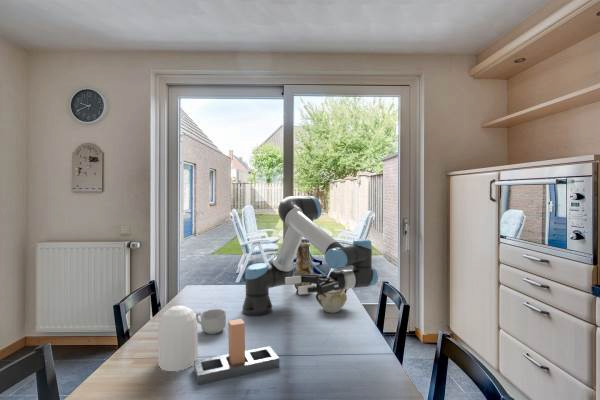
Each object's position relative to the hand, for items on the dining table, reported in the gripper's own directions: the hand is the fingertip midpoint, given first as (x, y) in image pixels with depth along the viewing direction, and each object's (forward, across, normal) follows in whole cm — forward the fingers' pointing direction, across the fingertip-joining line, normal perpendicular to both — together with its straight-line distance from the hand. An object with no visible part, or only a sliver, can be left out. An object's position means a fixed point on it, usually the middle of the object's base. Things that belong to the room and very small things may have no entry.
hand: (291, 285), depth 130 cm
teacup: (+25, +33, -26) cm, 49 cm away
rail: (+22, -4, -25) cm, 33 cm away
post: (+22, -4, -25) cm, 34 cm away
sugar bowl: (-36, +35, -26) cm, 56 cm away
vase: (-34, +69, -26) cm, 81 cm away
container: (+40, +9, -26) cm, 48 cm away
